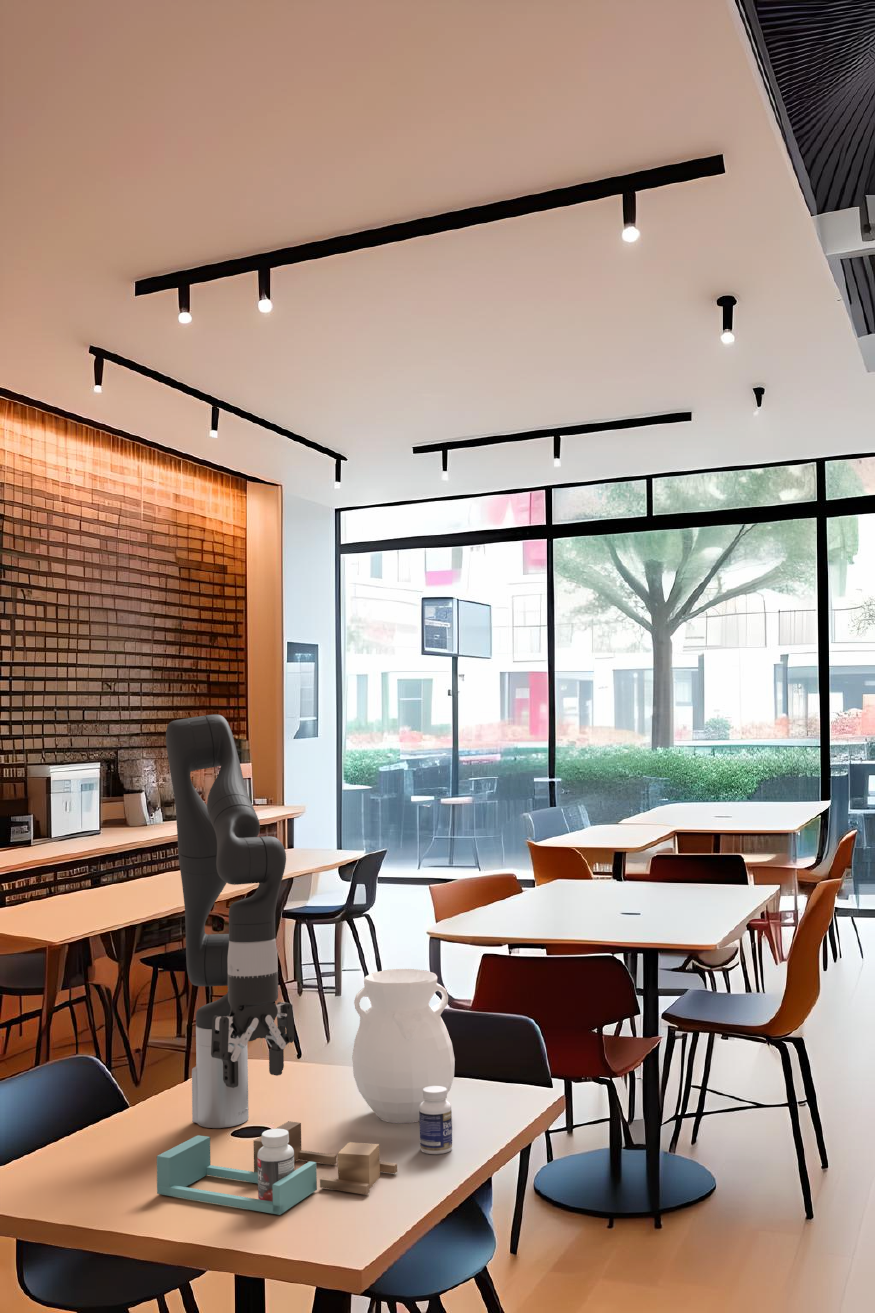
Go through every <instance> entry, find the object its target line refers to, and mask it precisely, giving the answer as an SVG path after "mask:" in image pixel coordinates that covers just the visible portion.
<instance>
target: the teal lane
mask: <svg viewBox="0 0 875 1313" xmlns="http://www.w3.org/2000/svg"><path fill="white" fill-rule="evenodd" d="M317 1175H318V1174H317V1162H311V1161H307V1163H305V1164H302V1165H301V1166H300V1167H298V1168H296V1169H294V1171H293V1172H292V1173H290V1174H289V1175H287V1176H285V1177H284V1178H282V1179H281V1180H279V1181H277V1182H276V1183H274V1184H273V1185H272V1188H273V1202H271V1201H266V1200H260V1199H258V1198H253V1197H246V1196H242V1195H235V1194H229V1193H222V1192H216V1191H210V1190H205V1189H199V1188H193V1187H189V1186H190V1185H192V1184H194V1183H195V1182H196V1181H199V1180H201V1179H202V1178H204V1177H206V1176H210V1177H217V1178H221V1179H222V1178H223V1179H229V1180H233V1181H234V1180H235V1181H241V1182H247V1183H254V1184H258V1172H254V1171H250V1170H243V1169H237V1168H232V1167H231V1168H230V1167H225V1166H218V1165H213V1164H211V1136H206V1135H194V1136H193V1137H191V1138H189V1139H188V1140H186V1141H184V1142H181V1143H180V1144H178V1145H175V1146H174V1147H171V1148H170V1149H168V1150H165V1151H163V1152H162V1153H160V1154H158V1155H156V1194H157V1195H163V1196H167V1197H174V1198H180V1199H186V1200H193V1201H198V1202H203V1203H209V1204H210V1203H211V1204H214V1205H220V1206H228V1207H233V1208H238V1209H243V1210H250V1211H255V1212H262V1213H267V1214H272V1215H278V1216H279V1215H282V1214H284V1213H285V1212H287V1211H288V1210H289V1209H291V1208H292V1207H294V1206H295V1205H297V1204H298V1203H300V1202H301V1201H303V1200H304V1199H305V1198H307V1197H308V1196H310V1195H311V1194H313V1193H315V1192H316V1191H317V1190H318V1187H317V1186H318V1184H317V1183H318V1182H317V1181H318V1180H317V1178H318V1177H317Z"/></svg>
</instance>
